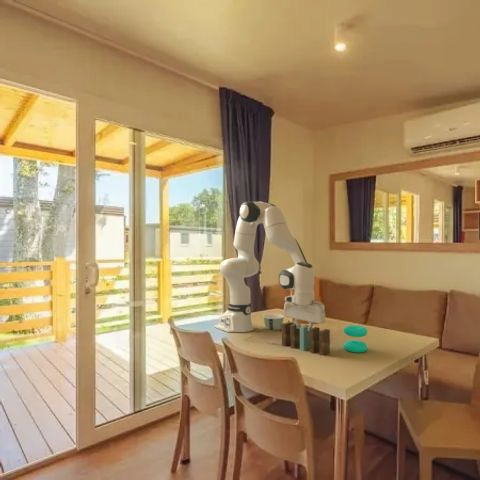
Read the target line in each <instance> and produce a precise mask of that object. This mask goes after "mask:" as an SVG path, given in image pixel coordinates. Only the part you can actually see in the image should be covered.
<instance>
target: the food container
mask: <svg viewBox="0 0 480 480" xmlns="http://www.w3.org/2000/svg"><path fill="white" fill-rule="evenodd" d="M262 318H263V320H264V321H263V322H264V329H266V330H271V331H276V330H277V331H278V330H282V324H283V323H284V320H285V319H284V318H285V315H284V314H278V313H268V314H267V313H266V314H263V315H262Z"/></svg>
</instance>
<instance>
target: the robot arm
mask: <svg viewBox="0 0 480 480" xmlns="http://www.w3.org/2000/svg"><path fill="white" fill-rule="evenodd" d="M238 213H239V217H238V219H237V222H236V226H235V231H234V232H235V233H234V237H233V247H234V248H235V250H237V257H231V258H227V259H225V260H222V262H221V263H220V265H219V272H220V275H221V276H222V277H223V278H224V279H225V280H226V282H227V284H228V288H229V301H230V302H229V303H227V304H226V307H227V310H225V311H224V312H223V313H222V314H221V315H220V316H219V320H218V323H217V324H215V325H214V328H216V329H218V330H221V331H224V332H226V333H246V332H251V331H254V324H253V317H252V303H251V288H250V287H249V286H248V285H247V284H246V283H245V278H248V277H249V278H251V277H252V276H254V275H257V274H258V273H259V270H260V262H259V261H258V260H257V258H256V255H255V242H256V241H255V240H256V234H257V228H258V225H260V224H261V225H263V227H264V231H265V236H266V239H267V241H268V243H270V244H272V246H274V247H277V248H280V249H282V250H284V251H286V252H287V253H288V254H289V255H290V257H291V259H292V261H293V264H294V265H293V266H291V267H288V268H285V269H282V270H281V271H280V273H278V284H279V285H280V287H281V288H282V289H284V290H288V291H289V290H294V292H293V294H292V295H288V296H285V297H284V301H285V302H284V306H283V315H284V316H285V317H286V318H290V319H294V320H293V322H295V323H296V328H297V329H300V327H302V324H300V321H305V322H308V326H309V327H307V331H309V329H311V328H313V326H314V324H319V325H320V324H324V323H326V311H325V308H326V307H325V304H324V303H323V302H321V301H318V300H315V290H314V286H315V269H314V266H313V265H312V264H311V263H309V262H308V261H307V259H306V256H305V255H304V253H303V250H302V248H301V246H300V244H299V242H298V240H297V239H296V238H295V237H294V236H293V234H292V232H291V231H290V229H289V227H288V224H287V221H286V218H285V216H284V214H283V212H282V210H281V209H280V208H279V207H278V206H277V205H275V204H273V203H270V202H268V203H267V202H263V201H245V202H243V203H242V204H241V205H240V207H239V211H238ZM285 317H284V318H285Z"/></svg>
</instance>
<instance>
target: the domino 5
mask: <svg viewBox="0 0 480 480" xmlns="http://www.w3.org/2000/svg"><path fill="white" fill-rule="evenodd" d="M330 331H331V329H329V328H328V329H327V328H325V329H321V330H320V331H319V349H320V351H319V355H320V356H326V355H329V354H330V353H331V349H330V348H331V343H330V342H331V337H330V336H331V334H330V333H331V332H330Z"/></svg>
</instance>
